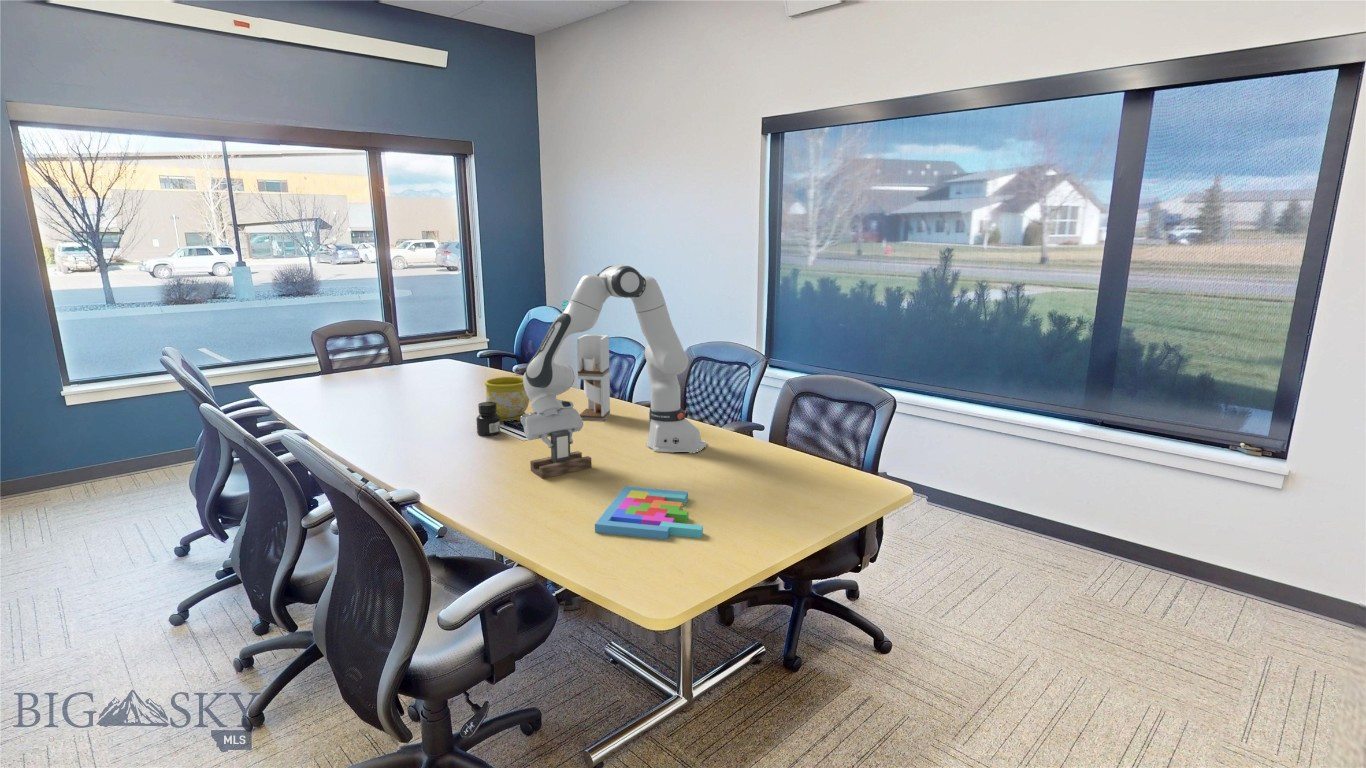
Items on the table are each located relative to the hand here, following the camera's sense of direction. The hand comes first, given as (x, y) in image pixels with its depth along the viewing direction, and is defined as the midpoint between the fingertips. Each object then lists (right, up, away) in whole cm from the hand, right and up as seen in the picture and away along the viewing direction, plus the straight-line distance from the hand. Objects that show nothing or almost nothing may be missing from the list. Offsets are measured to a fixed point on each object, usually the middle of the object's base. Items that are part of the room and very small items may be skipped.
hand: (561, 445), depth 219 cm
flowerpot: (-35, +6, +64) cm, 73 cm away
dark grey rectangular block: (0, -5, +2) cm, 6 cm away
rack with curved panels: (+2, +6, +67) cm, 68 cm away
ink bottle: (-37, +1, +42) cm, 56 cm away
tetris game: (+34, -17, -34) cm, 51 cm away
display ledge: (0, -8, +2) cm, 9 cm away
